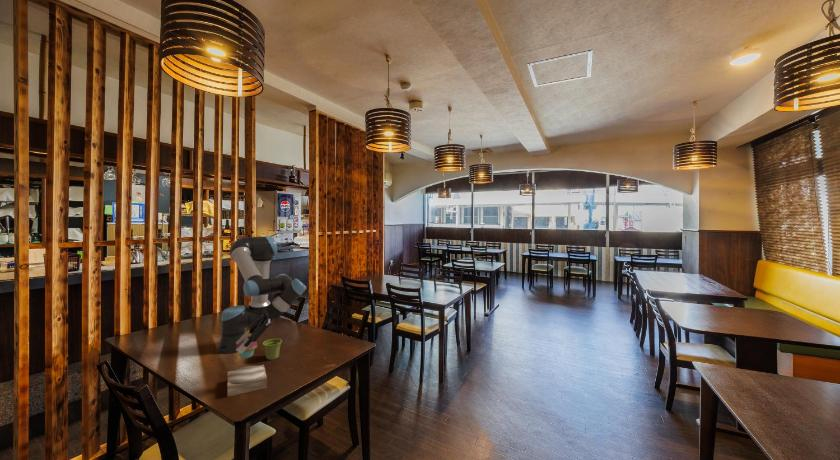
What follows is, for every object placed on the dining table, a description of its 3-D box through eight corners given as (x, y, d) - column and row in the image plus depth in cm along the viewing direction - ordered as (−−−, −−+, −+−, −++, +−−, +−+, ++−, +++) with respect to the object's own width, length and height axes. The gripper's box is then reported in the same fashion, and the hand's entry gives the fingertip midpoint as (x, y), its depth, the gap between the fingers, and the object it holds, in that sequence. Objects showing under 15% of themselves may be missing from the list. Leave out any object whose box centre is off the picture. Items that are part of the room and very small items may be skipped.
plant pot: (263, 362, 165) (262, 346, 164) (262, 355, 173) (262, 340, 173) (282, 359, 169) (282, 343, 169) (281, 352, 177) (281, 337, 177)
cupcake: (241, 352, 147) (241, 326, 147) (260, 351, 148) (260, 326, 147) (232, 360, 139) (232, 333, 138) (252, 359, 139) (252, 333, 139)
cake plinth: (227, 380, 146) (227, 370, 146) (263, 373, 154) (263, 363, 154) (227, 396, 134) (227, 385, 133) (266, 387, 141) (266, 376, 141)
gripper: (287, 318, 142) (246, 362, 134) (280, 307, 160) (244, 344, 152) (274, 308, 139) (231, 352, 131) (269, 297, 157) (231, 335, 149)
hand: (238, 348), depth 142 cm, fingers closed on cupcake, 8 cm apart
